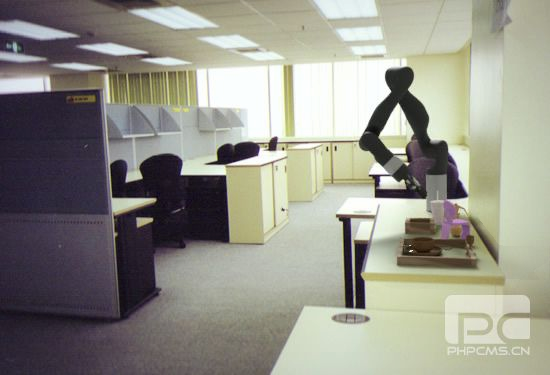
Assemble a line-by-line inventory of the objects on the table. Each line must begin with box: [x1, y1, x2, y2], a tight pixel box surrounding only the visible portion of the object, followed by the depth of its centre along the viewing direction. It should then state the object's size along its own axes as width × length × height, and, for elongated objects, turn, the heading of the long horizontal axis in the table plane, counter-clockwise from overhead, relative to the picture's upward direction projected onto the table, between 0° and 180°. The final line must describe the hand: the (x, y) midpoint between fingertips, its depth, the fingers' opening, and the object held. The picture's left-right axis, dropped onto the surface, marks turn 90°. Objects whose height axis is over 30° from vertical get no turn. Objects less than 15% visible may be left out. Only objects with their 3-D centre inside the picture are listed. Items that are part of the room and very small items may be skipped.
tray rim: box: [396, 237, 477, 268], centre depth 161 cm, size 25×22×2 cm
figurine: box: [444, 202, 469, 237], centre depth 186 cm, size 8×6×12 cm
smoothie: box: [430, 191, 445, 226], centre depth 205 cm, size 6×6×14 cm
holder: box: [404, 217, 436, 235], centre depth 197 cm, size 11×11×4 cm
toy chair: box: [439, 199, 471, 239], centre depth 176 cm, size 8×9×15 cm
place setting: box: [404, 234, 476, 257], centre depth 161 cm, size 18×20×6 cm
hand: (425, 195), depth 206 cm, fingers open, 8 cm apart
